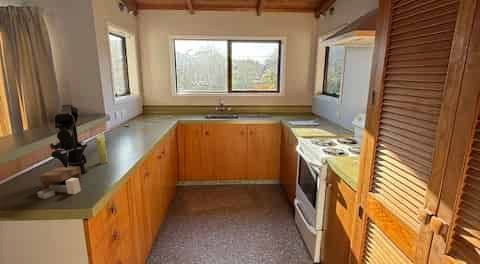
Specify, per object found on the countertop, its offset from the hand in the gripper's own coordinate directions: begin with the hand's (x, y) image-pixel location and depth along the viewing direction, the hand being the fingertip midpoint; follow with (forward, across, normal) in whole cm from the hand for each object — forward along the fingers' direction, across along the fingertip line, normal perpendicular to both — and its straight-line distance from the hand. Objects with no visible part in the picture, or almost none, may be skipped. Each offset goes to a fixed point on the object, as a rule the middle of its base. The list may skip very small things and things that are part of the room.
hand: (72, 164), depth 143 cm
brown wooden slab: (+12, +3, -6) cm, 13 cm away
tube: (+13, -34, -8) cm, 37 cm away
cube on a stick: (+11, +9, +1) cm, 15 cm away
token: (+12, +15, -4) cm, 19 cm away
